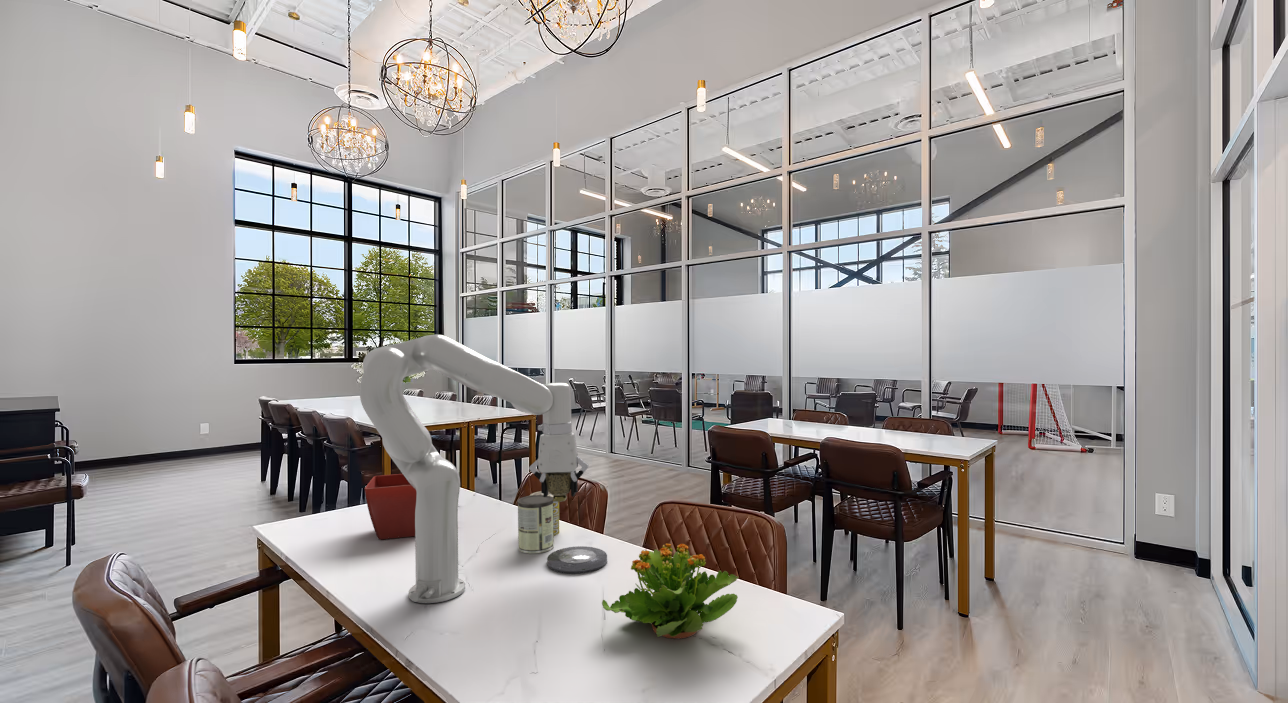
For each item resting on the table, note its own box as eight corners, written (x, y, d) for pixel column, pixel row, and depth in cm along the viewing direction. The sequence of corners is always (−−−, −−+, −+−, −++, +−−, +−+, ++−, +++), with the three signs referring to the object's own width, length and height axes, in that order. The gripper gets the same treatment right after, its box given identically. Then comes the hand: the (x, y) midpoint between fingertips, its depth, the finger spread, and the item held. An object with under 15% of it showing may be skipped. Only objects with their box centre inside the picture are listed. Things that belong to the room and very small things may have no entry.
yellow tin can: (525, 535, 174) (524, 497, 174) (538, 527, 183) (538, 490, 183) (551, 538, 171) (551, 499, 171) (564, 529, 180) (563, 492, 180)
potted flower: (669, 591, 133) (668, 517, 133) (760, 621, 118) (759, 538, 118) (595, 633, 113) (594, 546, 113) (692, 675, 98) (691, 575, 98)
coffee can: (524, 541, 169) (523, 494, 169) (557, 542, 168) (557, 494, 168) (512, 553, 159) (512, 503, 159) (548, 554, 158) (548, 504, 158)
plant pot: (374, 526, 185) (373, 475, 185) (436, 520, 191) (435, 470, 191) (364, 545, 167) (363, 488, 167) (432, 538, 172) (432, 483, 172)
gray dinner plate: (603, 574, 143) (603, 567, 143) (541, 573, 144) (541, 566, 144) (610, 551, 159) (610, 545, 159) (554, 551, 160) (554, 545, 160)
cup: (571, 504, 147) (570, 473, 147) (543, 504, 147) (542, 474, 147) (575, 496, 155) (574, 467, 154) (548, 497, 155) (547, 468, 155)
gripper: (521, 432, 147) (524, 500, 147) (587, 430, 147) (590, 498, 147) (528, 427, 155) (531, 492, 155) (591, 426, 154) (593, 491, 154)
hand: (559, 495), depth 151 cm, fingers closed on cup, 6 cm apart
